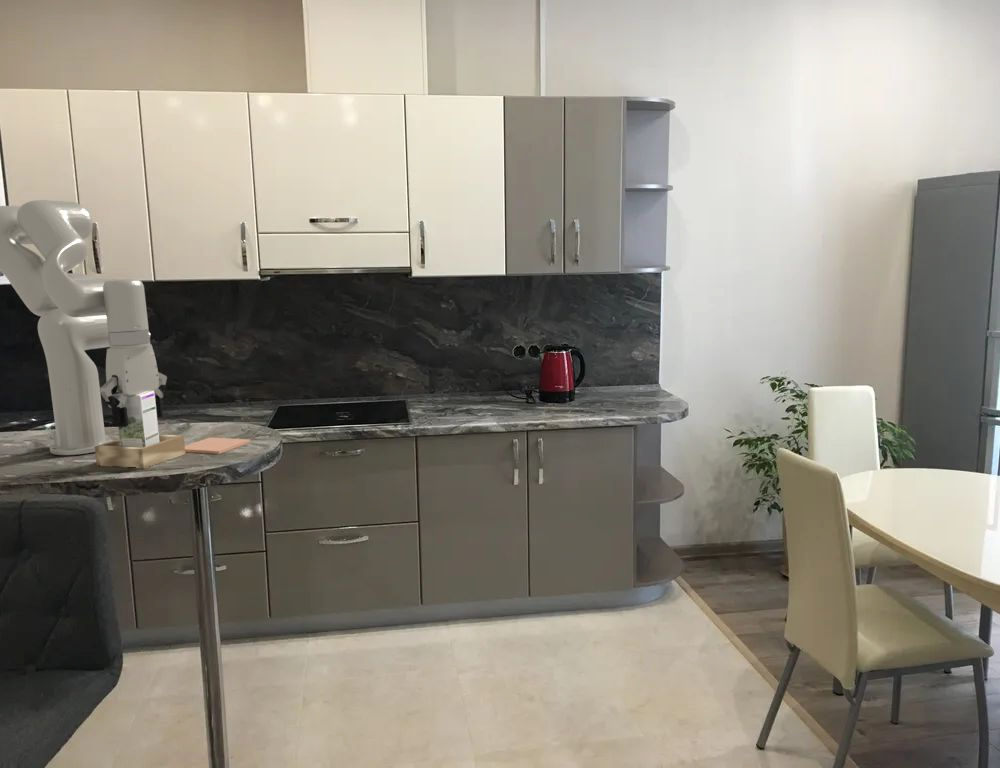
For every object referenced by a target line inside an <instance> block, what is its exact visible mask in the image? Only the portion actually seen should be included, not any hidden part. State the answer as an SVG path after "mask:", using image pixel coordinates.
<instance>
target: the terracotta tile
mask: <svg viewBox="0 0 1000 768" xmlns="http://www.w3.org/2000/svg"><path fill="white" fill-rule="evenodd" d="M249 443H251V439H248V438H247V439H245V438H230V437H228V438H225V437H207V438H204V439H201V440H198V441H195V442H192V443H190V444H187V445H184V446H185V453H196V454H198V453H199V454H213V455H214V454H216V455H220V454H223V453H225V452H227V451H230V450H233V449H236V448H239V447H240V446H241V447H242V446H243V445H244V446H245V445H247V444H249Z"/></svg>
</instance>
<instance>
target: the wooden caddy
mask: <svg viewBox="0 0 1000 768" xmlns="http://www.w3.org/2000/svg"><path fill="white" fill-rule="evenodd" d="M185 446H186V445H185V437H184V435H175V434H174V435H173V434H159V442H158V443H155V444H152V445H149V446H146V447H143V448H137V447H121V446H120V438H118V439H115V440H113V441H111V442H108V443H104V444H101V445H98V446H94V447H95V452H94V453H95V463H96V466H98V465H100V467H112V466H123V467H122V468H127V467H136V468H135V469H142V468H144V469H147V468H150V467H152V465H153V466H155V464H156V465H158V464H161V463H163V462H166V461H170V460H172V459H176V458H178V457H180V456H184V455H186V452H185ZM149 466H150V467H149ZM146 467H147V468H146Z"/></svg>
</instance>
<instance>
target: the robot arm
mask: <svg viewBox="0 0 1000 768" xmlns="http://www.w3.org/2000/svg"><path fill="white" fill-rule="evenodd" d="M92 232H93V220H92V217H91V214H90V212H89V211H88V210H87V208H85V207H84V206H83V205H82V204H80V203H78V202H75V201H74V202H73V201H68V200H67V201H64V200H48V199H47V200H46V199H45V200H44V199H38V200H37V199H36V200H30V201H28V202H27V201H26V202H25V203H23V204H22V205H20V206H19V205H0V272H1V273H2V274H3V275H4V276H5V278H6V279H7V280H8V282H9V283H10V285H11V287H12V288H13V289H14V290H15V292H16V294H17V295H18V296H19V298H20V299H21V301H22V302H23V304H24V305H25V306H26V308H28V310H29V311H30V312H31V313H33V315H36V316H38V317H40V318H39V320H38V322H37V333H38V337H39V341H40V343H41V345H42V348H43V352H44V355H45V360H46V361H45V362H46V366H47V372H48V379H49V387H50V394H51V395H50V396H51V402H52V410H53V417H54V426H55V429H52V430H51V431H50V433H49V432H48V433H46V435H45V437H46V438H45V439H47V440H53V445H51V446H50V447H49V453H51V454H52V455H55V456H76V455H84V454H85V455H86V454H92V453H95V447H94V446H98V445H101V444H104V443H108V442H111V441H114V439H113V438H108V437H106V433H105V424H104V414H103V404H102V398H103V401H104V402H105V403H106V404H107V405H108V407H109V408H111V412H112V413H111V414H112V421H113V422H112V423H113V426H114V427H115V428H116V427H117V428H118V427H127V426H128V425H129V424H128V416H127V408H126V407H123V406H124V404H125V402H126V400H127V398H128V396H134V395H136V394H139V393H143V392H146V391H153V390H154V393H155V402H156V413H157V418H162V417H164V412H163V403H162V399H163V398H164V392H165V390H166V384H167V379H168V377H167V375H166V374H163V373H161V372H159V370H158V365H157V364H158V363H157V360H156V356H155V351H154V349H153V345H152V344H151V336H152V335H151V333H150V330H149V320H148V311H147V302H146V293H145V285H144V284H143V282H142V281H141V280H140V279H137V278H119V279H118V278H104V279H103V278H102V279H101V278H99V279H98V278H94V277H93V276H90V275H88V274H84V273H78V272H77V273H76V272H75V273H69V271H71V270H74V269H75V268H77V267H79V266H80V265H81V264H82V263H83V262H84V261H85V260H86V258H87V256H88V253H89V249H88V248H89V247H88V245H87V243H86V242H85V239H87V238H88V237H89V236H90V235H91V233H92ZM24 245H34V246H35V247H36V249H37V250H38V252H39V253H40V254H41V256H40V255H39V254H38V253H36V252H34V250H31V249H30V248H27V247H25V246H24ZM42 257H43V258H42ZM104 348H106V356H105V376H106V377H105V381H106V382H105V383H104V384H102V386H100V380H99V371H98V368H97V366H96V364H95V362H94V361H93V360H92V359H91V358H90V356H89V355H88V354H87V353H86V351H89V350H97V349H104ZM119 397H120V399H119V400H118V398H119Z"/></svg>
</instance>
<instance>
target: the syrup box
mask: <svg viewBox="0 0 1000 768" xmlns="http://www.w3.org/2000/svg"><path fill="white" fill-rule="evenodd" d="M119 399H120V397H119V398H118V400H119ZM123 407H126V408H127V416H128V424H129V425H128V426H127V427H117V429H118V436H119V439H120V446H121V447H137V448H143V447H146V446H149V445H152V444H155V443H158V442H159V435H160V434H159V426H158V425H159V423H158V417H157V413H156V402H155V393H154V390H153V391H146V392H143V393H139V394H136V395H134V396H128V398H127V400H126V402H125V404H124V406H123Z"/></svg>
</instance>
